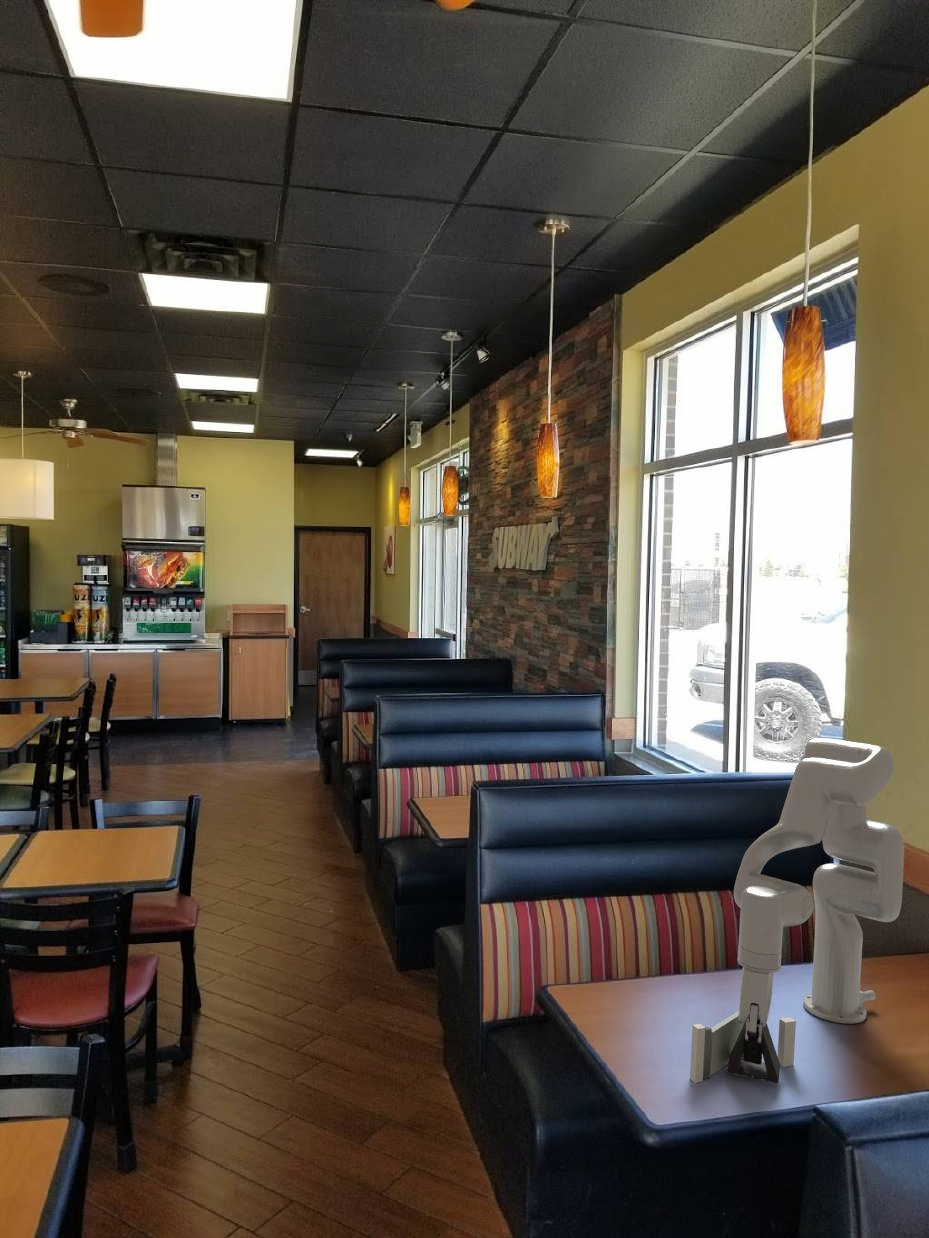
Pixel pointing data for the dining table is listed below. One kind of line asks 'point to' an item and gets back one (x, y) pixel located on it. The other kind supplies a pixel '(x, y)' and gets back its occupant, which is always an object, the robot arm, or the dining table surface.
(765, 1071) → the phone stand
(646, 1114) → the dining table surface
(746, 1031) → the robot arm
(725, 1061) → the door
